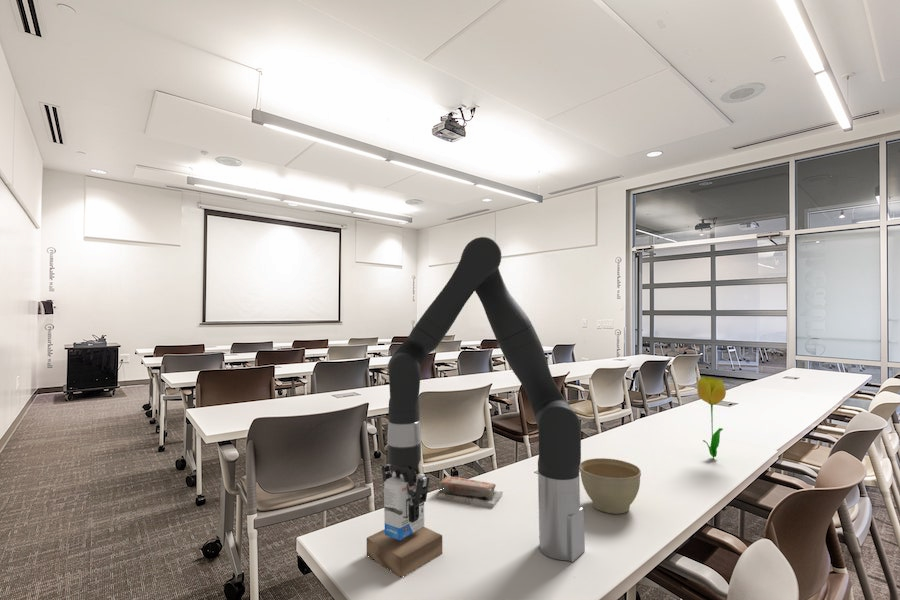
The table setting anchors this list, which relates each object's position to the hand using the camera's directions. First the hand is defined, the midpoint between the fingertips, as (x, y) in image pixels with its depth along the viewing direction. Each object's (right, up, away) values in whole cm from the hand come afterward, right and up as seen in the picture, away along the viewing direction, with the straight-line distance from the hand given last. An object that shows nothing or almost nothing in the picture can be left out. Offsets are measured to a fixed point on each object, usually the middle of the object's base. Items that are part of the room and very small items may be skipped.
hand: (404, 516), depth 95 cm
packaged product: (+16, -10, +30) cm, 36 cm away
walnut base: (0, -8, 0) cm, 8 cm away
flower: (+108, -10, +61) cm, 124 cm away
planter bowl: (+55, -9, +23) cm, 60 cm away
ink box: (0, -3, 0) cm, 3 cm away
